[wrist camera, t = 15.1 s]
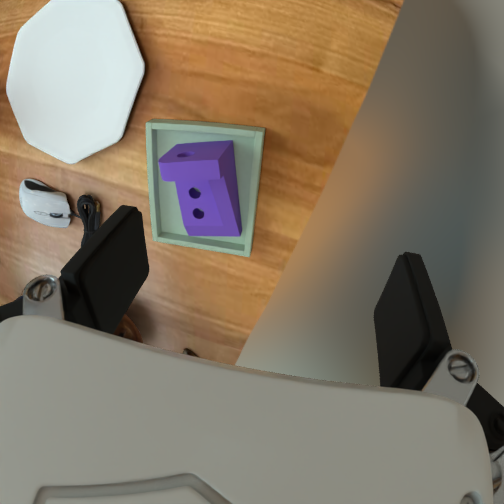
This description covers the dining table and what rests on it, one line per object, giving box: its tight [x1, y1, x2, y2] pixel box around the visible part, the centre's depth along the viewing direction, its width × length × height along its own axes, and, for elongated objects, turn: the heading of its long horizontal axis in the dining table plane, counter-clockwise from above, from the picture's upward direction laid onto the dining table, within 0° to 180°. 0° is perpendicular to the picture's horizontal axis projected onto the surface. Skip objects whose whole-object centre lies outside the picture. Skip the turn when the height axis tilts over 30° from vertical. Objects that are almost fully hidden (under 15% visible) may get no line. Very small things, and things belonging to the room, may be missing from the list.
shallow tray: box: [146, 119, 265, 257], centre depth 38 cm, size 14×17×2 cm
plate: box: [6, 0, 145, 164], centre depth 31 cm, size 24×24×2 cm
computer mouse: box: [19, 179, 101, 247], centre depth 43 cm, size 10×18×4 cm, turn 71°
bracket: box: [158, 140, 242, 237], centre depth 36 cm, size 12×7×7 cm, turn 4°
